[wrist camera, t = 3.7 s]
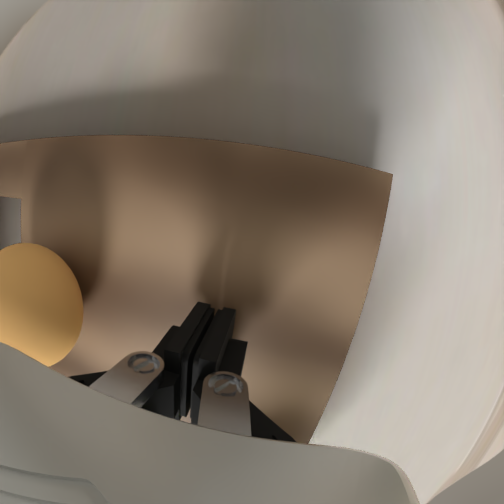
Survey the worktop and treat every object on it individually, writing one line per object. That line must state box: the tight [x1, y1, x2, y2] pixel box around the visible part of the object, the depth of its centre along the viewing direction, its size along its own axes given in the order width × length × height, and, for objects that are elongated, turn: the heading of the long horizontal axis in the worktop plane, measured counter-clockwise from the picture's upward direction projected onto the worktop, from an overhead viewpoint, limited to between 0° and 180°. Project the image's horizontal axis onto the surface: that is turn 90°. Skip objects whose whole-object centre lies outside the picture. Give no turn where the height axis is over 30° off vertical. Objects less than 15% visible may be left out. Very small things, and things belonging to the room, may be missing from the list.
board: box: [0, 135, 393, 444], centre depth 14 cm, size 16×30×3 cm, turn 81°
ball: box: [0, 243, 84, 367], centre depth 10 cm, size 6×6×6 cm
